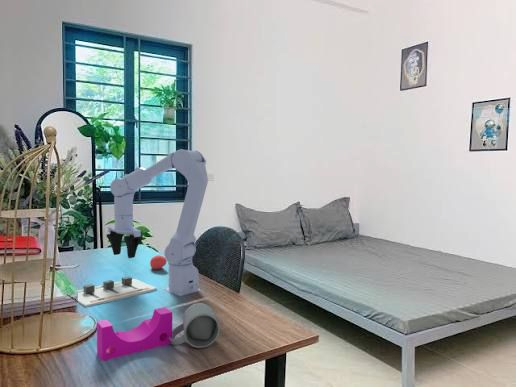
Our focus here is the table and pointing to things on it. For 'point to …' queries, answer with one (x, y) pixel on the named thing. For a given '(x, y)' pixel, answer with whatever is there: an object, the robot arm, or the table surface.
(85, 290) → the tab
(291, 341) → the table surface
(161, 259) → the stress ball
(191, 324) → the ceramic mug
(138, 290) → the switch panel
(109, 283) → the tab
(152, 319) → the toy block
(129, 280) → the tab
